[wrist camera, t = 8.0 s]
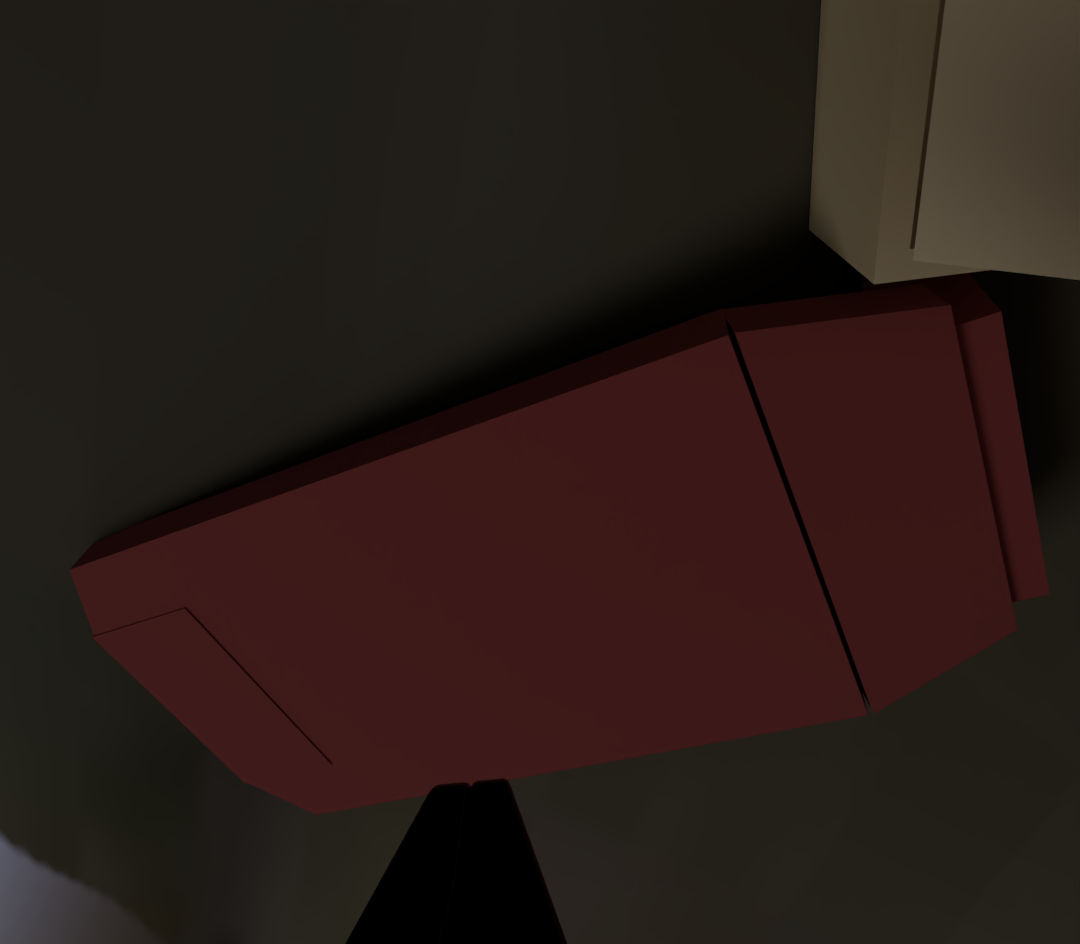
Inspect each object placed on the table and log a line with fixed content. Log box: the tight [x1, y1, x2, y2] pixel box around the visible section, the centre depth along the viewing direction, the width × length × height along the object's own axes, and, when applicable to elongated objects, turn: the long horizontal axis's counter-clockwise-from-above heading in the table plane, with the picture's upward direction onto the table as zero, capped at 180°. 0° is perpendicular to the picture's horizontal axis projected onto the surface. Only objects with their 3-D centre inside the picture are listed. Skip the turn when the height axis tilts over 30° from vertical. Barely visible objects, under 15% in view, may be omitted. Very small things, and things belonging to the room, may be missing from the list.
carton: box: [70, 273, 1050, 815], centre depth 23 cm, size 12×5×25 cm
